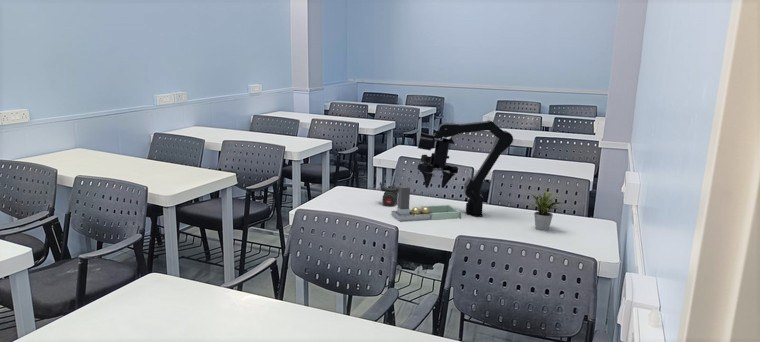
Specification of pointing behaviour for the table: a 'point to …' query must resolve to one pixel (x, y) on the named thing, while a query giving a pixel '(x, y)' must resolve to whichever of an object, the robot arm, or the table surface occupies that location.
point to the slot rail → (413, 216)
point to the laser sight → (390, 194)
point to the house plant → (544, 211)
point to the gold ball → (425, 210)
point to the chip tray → (444, 212)
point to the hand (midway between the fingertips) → (434, 187)
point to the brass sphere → (415, 211)
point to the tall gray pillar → (403, 200)
